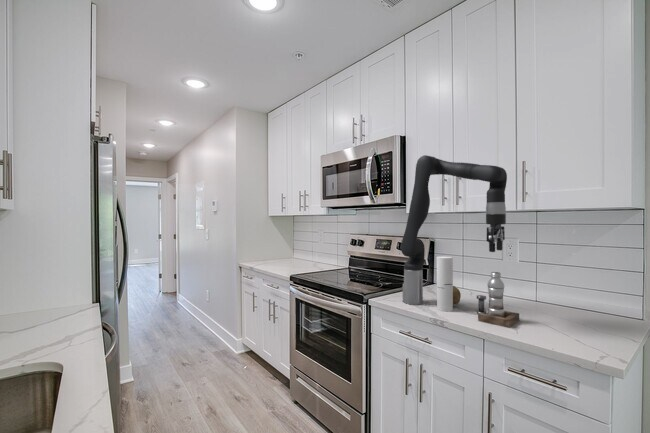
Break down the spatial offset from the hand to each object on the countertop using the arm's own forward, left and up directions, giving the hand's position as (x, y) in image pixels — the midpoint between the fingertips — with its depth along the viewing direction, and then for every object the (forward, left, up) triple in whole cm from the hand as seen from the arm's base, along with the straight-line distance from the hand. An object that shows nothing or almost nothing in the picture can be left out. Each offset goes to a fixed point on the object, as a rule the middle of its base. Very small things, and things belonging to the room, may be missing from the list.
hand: (495, 251), depth 139 cm
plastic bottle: (0, +1, -30) cm, 30 cm away
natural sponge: (-24, +9, -30) cm, 39 cm away
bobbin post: (-8, +5, -30) cm, 31 cm away
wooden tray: (+1, 0, -30) cm, 30 cm away
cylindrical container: (-23, 0, -30) cm, 38 cm away
